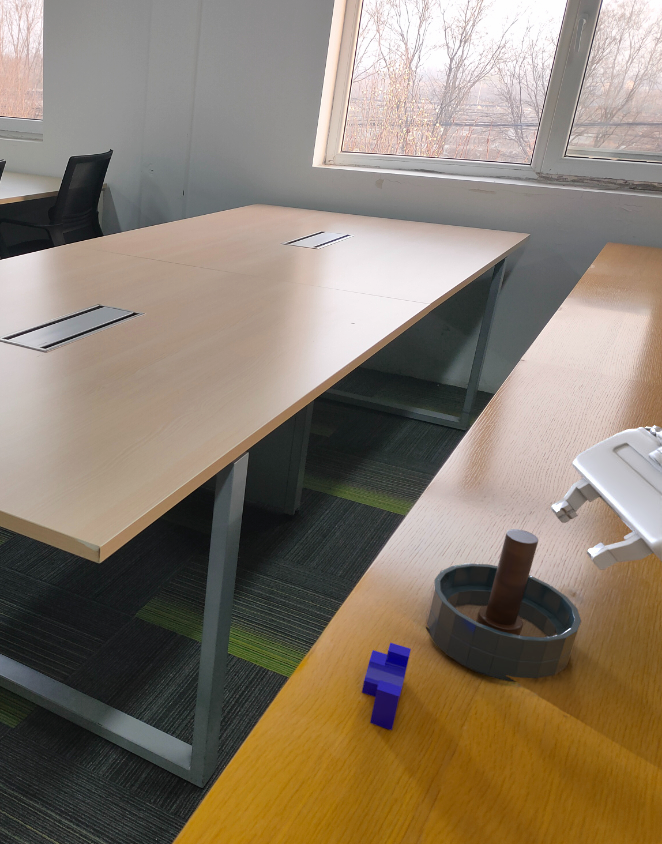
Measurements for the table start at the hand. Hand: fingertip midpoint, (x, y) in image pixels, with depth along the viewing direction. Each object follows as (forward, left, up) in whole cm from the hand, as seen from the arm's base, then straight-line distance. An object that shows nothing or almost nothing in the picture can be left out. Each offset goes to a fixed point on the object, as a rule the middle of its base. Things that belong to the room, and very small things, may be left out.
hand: (573, 537), depth 83 cm
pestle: (+3, +5, -13) cm, 14 cm away
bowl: (+3, +4, -14) cm, 15 cm away
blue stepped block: (+4, +22, -14) cm, 27 cm away
